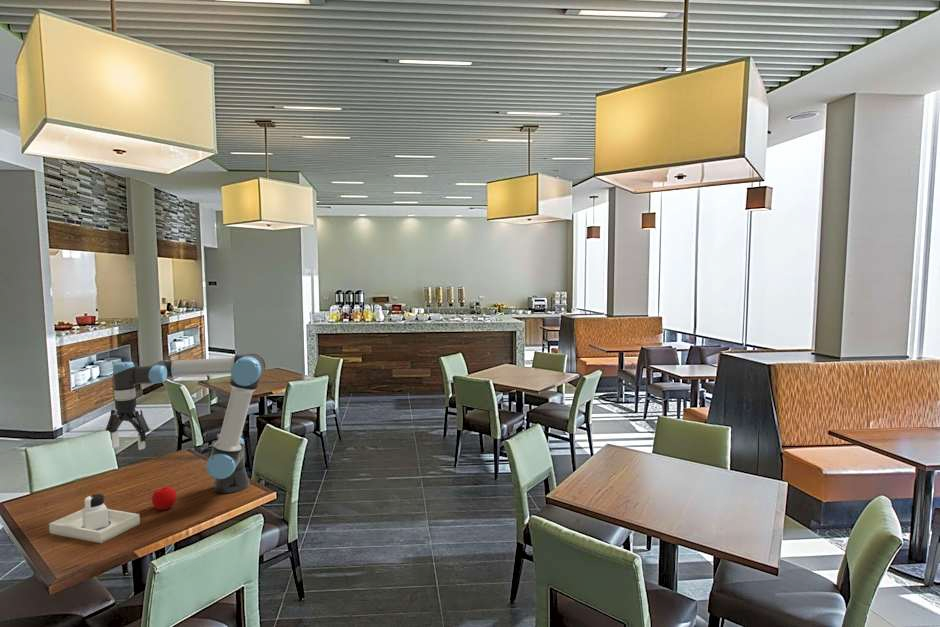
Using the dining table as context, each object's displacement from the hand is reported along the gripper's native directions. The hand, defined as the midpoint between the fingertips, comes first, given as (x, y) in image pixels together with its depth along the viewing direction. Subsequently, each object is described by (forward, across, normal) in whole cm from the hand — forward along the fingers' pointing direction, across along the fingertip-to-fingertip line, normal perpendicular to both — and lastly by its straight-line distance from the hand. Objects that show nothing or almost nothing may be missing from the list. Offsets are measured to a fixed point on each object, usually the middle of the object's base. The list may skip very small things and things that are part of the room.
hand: (128, 448), depth 223 cm
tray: (+25, -4, +20) cm, 33 cm away
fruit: (+26, -15, -2) cm, 30 cm away
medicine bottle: (+24, -4, +20) cm, 32 cm away
